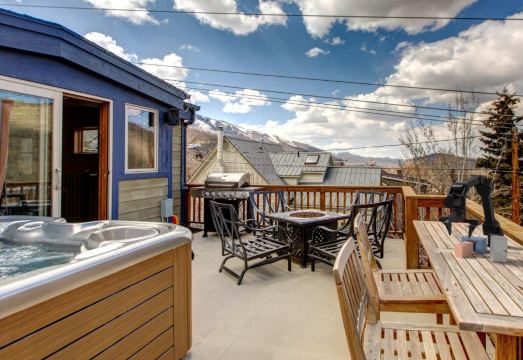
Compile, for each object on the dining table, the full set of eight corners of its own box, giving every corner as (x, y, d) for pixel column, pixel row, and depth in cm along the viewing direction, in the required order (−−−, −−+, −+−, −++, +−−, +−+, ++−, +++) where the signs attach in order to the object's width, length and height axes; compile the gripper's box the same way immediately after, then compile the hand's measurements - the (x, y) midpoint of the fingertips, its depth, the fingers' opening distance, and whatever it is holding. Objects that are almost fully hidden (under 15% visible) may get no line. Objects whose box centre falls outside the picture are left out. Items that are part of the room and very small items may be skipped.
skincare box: (493, 261, 159) (493, 237, 158) (489, 259, 163) (489, 235, 163) (507, 262, 157) (507, 237, 156) (504, 259, 161) (504, 235, 161)
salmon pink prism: (466, 252, 177) (465, 241, 176) (473, 253, 174) (473, 242, 173) (454, 256, 169) (454, 245, 169) (462, 257, 166) (462, 246, 166)
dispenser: (466, 248, 184) (466, 235, 184) (486, 251, 176) (486, 238, 176) (460, 250, 180) (460, 237, 180) (481, 254, 172) (481, 240, 172)
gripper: (433, 206, 170) (433, 236, 171) (472, 210, 155) (472, 242, 156) (443, 205, 177) (443, 233, 177) (482, 208, 162) (482, 238, 162)
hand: (459, 236), depth 168 cm, fingers open, 9 cm apart
